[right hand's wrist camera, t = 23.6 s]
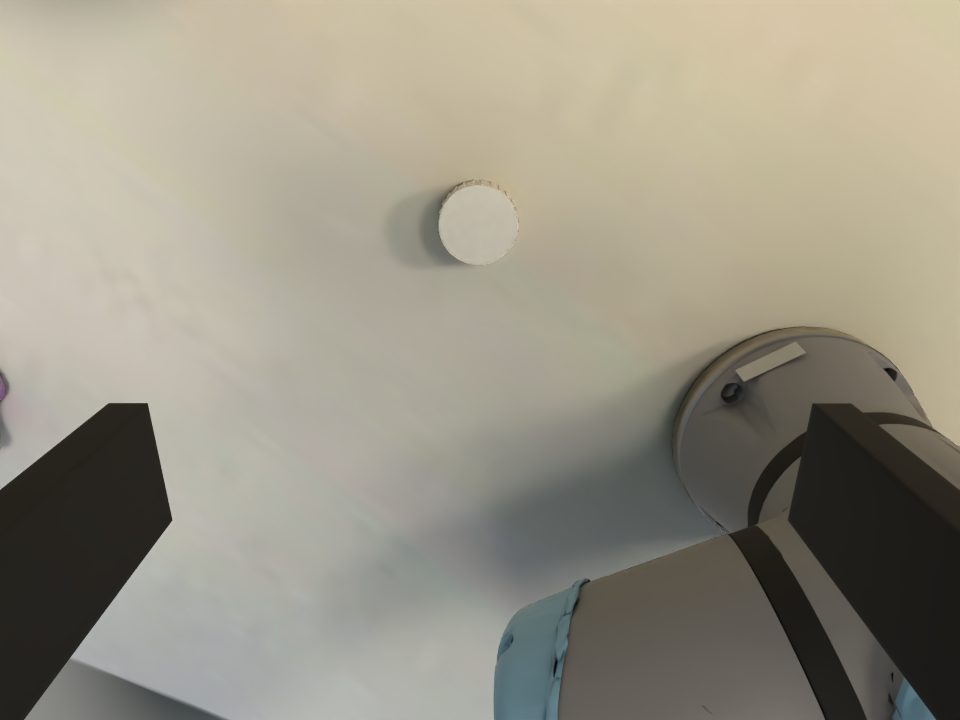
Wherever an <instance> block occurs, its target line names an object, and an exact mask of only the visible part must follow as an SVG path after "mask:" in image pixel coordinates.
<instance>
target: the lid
mask: <svg viewBox="0 0 960 720" xmlns="http://www.w3.org/2000/svg"><path fill="white" fill-rule="evenodd" d="M513 205H514V203H513V200H512V199H510V198H509V196H508V193H507V192H504V191H503V190H502V189H501V187H500V186H496V185H495V184H492V182H491V181H490V182H486V181H483V180H481V181H474V180H472V181H470V182H467V183H465V182H463V184H462V185H460V186H458V187H457V186H456V187H455V189H454V190H453V191H452V192H451V193H450V192H449V193H448V196H447V198H446V200H444V201H443V203H442V206H443V207H442V208H441V209H440V211H439V215H440V216H439V219H438V222H437V224H438V228H439V231H438V233H439V235H440V238H441V241H442V243H443V245H444V246H445V248H446V249H447V251H448V252H449V253H450V254H451V255H452V256H453V257H455V258H456V259H458V260H460V261H461V262H464V263H467V264H471V265H485V264H489V263H492V262H495V261H497V260H498V259H500V258H502V257H503V256H504V255H505V254H506V253H507V252H508V251H509V250H510V249H511V247H512V245H513V243H514V241H515V240H516V235H517V232H518V223H519V220H518V217H517V215H516V213H517V210H516V207H514V206H513Z"/></svg>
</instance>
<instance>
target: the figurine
mask: <svg viewBox="0 0 960 720" xmlns="http://www.w3.org/2000/svg"><path fill="white" fill-rule="evenodd" d="M5 390H6V386H5V384H4V382H3V380H2V377H1V375H0V401H1V400H2V399H3V398H4V396H5ZM0 449H1V437H0Z"/></svg>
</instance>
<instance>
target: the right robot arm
mask: <svg viewBox="0 0 960 720" xmlns="http://www.w3.org/2000/svg"><path fill="white" fill-rule="evenodd" d="M672 447H673V457H674V463H675V466H676V470H677V473H678V475H679V477H680V480H681V482H682V483H683V485H684V487H685V489H686V491H687V493H688V494H689V496H690V498H691V500H692V501H693V503H694V504H695V505H696V507H697V508H698V509H699V510H700V511H701V512H702V513H703V514H704V515H705V516H706V517H707V518H708V519H710V520H711V521H712V522H713V523H715V524H716V525H717V526H719V527H720V528H722V529H723V530H725V531H726V532H728V533H730V534H725V535H722V536H719V537H716V538H714V539H711V540H708V541H705V542H702V543H699V544H697V545H694V546H691V547H688V548H685V549H682V550H680V551H677V552H674V553H671V554H668V555H665V556H663V557H660V558H657V559H654V560H651V561H648V562H646V563H643V564H640V565H637V566H634V567H631V568H629V569H626V570H623V571H620V572H617V573H614V574H611V575H608V576H605V577H602V578H599V579H596V580H593V581H590V580H588V579H586V578H584V579H581V580H579V581H577V582H575V584H574V585H573V586H572V587H571V588H569V589H566V590H564V591H561V592H559V593H557V594H554V595H552V596H549V597H547V598H544V599H542V600H540V601H537V602H535V603H532V604H530V605H528V606H526V607H524V608H523V609H521V610H520V611H519V612H517V613H516V614H515V615H514V616H513V618H512V619H511V620H510V622H509V623H508V625H507V627H506V629H505V631H504V633H503V636H502V638H501V641H500V645H499V650H498V655H497V664H496V667H495V677H494V720H960V447H959V446H957V445H956V444H955V443H953V442H952V441H950V440H949V439H947V438H946V437H944V436H943V435H942V434H940V433H939V432H937V431H936V430H935V429H933V427H932V425H931V423H930V421H929V420H928V418H927V416H926V414H925V412H924V411H923V409H922V407H921V405H920V404H919V402H918V400H917V398H916V397H915V395H914V393H913V391H912V389H911V387H910V386H909V384H908V383H907V381H906V379H905V378H904V376H903V375H902V374H901V372H900V371H899V370H898V368H897V367H896V366H895V365H894V364H893V363H892V362H891V361H890V360H889V359H887V358H886V357H885V356H884V355H883V354H881V353H879V352H878V351H876V350H875V349H873V348H872V347H870V346H868V345H867V344H865V343H863V342H862V341H860V340H858V339H856V338H854V337H852V336H850V335H848V334H845V333H842V332H839V331H835V330H831V329H825V328H818V327H795V328H787V329H781V330H777V331H772V332H768V333H765V334H762V335H759V336H757V337H754V338H752V339H750V340H747V341H745V342H743V343H741V344H740V345H738V346H736V347H734V348H733V349H731V350H729V351H728V352H726V353H725V354H724V355H722V356H721V357H720V358H718V359H717V360H716V361H715V362H713V363H712V364H711V365H710V366H709V367H708V368H707V369H706V370H705V371H704V372H703V373H702V374H701V375H700V376H699V378H698V379H697V380H696V382H695V383H694V384H693V385H692V387H691V388H690V390H689V392H688V393H687V395H686V397H685V398H684V400H683V402H682V404H681V407H680V409H679V412H678V414H677V418H676V421H675V425H674V431H673V441H672ZM171 521H172V516H171V511H170V507H169V502H168V497H167V493H166V488H165V483H164V479H163V474H162V469H161V464H160V460H159V455H158V450H157V446H156V441H155V436H154V431H153V427H152V422H151V417H150V413H149V408H148V403H109V404H107V405H106V406H105V407H103V408H102V409H101V410H100V411H98V412H97V413H96V414H95V415H93V416H92V417H91V418H90V419H88V420H87V421H86V422H85V423H83V424H82V425H81V426H80V427H78V428H77V429H76V430H75V431H73V432H72V433H71V434H70V435H68V436H67V437H66V438H65V439H63V440H62V441H61V442H60V443H58V444H57V445H56V446H55V447H53V448H52V449H51V450H50V451H48V452H47V453H46V454H45V455H43V456H42V457H41V458H40V459H38V460H37V461H36V462H35V463H33V464H32V465H31V466H30V467H28V468H27V469H26V470H25V471H23V472H22V473H21V474H20V475H18V476H17V477H16V478H15V479H13V480H12V481H11V482H10V483H8V484H7V485H6V486H5V487H3V488H2V489H1V490H0V720H24V719H25V718H26V716H27V715H28V714H29V712H30V711H31V710H32V708H33V707H34V705H35V704H36V703H37V701H38V700H39V699H40V697H41V696H42V695H43V693H44V692H45V691H46V689H47V688H48V687H49V685H50V684H51V683H52V681H53V680H54V679H55V677H56V676H57V675H58V673H59V672H60V671H61V669H62V668H63V667H64V665H65V664H66V663H67V661H68V660H69V658H70V657H71V656H72V654H73V653H74V652H75V650H76V649H77V648H78V646H79V645H80V644H81V642H82V641H83V640H84V638H85V637H86V636H87V634H88V633H89V632H90V630H91V629H92V628H93V626H94V625H95V624H96V622H97V621H98V619H99V618H100V617H101V615H102V614H103V613H104V611H105V610H106V609H107V607H108V606H109V605H110V603H111V602H112V601H113V599H114V598H115V597H116V595H117V594H118V593H119V591H120V590H121V589H122V587H123V586H124V585H125V583H126V582H127V581H128V579H129V578H130V576H131V575H132V574H133V572H134V571H135V570H136V568H137V567H138V566H139V564H140V563H141V562H142V560H143V559H144V558H145V556H146V555H147V554H148V552H149V551H150V550H151V548H152V547H153V546H154V544H155V543H156V542H157V540H158V539H159V537H160V536H161V535H162V533H163V532H164V531H165V529H166V528H167V527H168V525H169V524H170V523H171Z"/></svg>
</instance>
